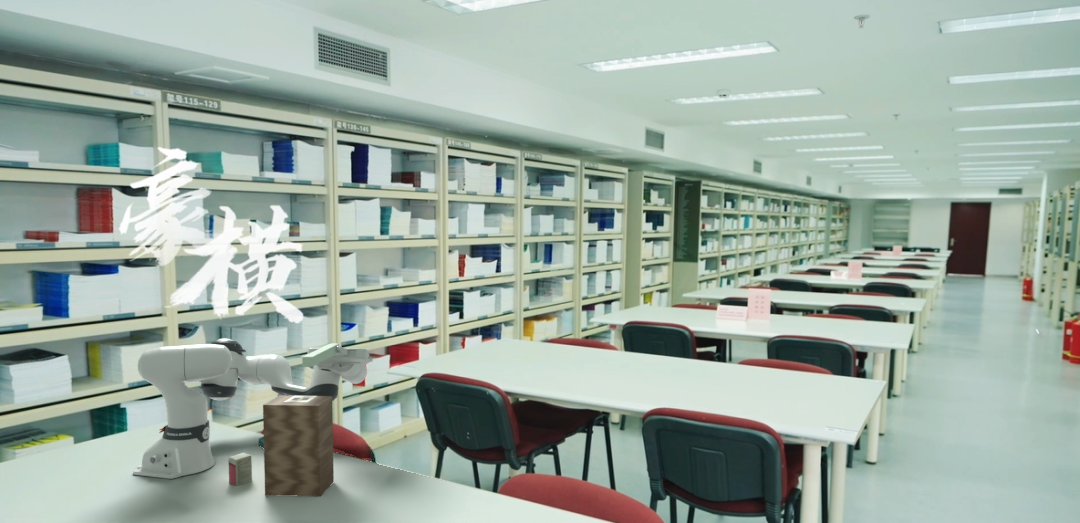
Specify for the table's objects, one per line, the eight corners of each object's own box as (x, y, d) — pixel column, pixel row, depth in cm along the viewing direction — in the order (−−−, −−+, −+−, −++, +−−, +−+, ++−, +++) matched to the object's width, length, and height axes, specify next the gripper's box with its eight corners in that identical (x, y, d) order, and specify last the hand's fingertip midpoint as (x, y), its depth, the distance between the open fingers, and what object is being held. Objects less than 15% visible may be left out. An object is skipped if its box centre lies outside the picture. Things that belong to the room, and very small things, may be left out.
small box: (244, 477, 192) (243, 451, 192) (252, 480, 190) (251, 454, 189) (228, 482, 188) (227, 456, 188) (236, 486, 186) (235, 459, 185)
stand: (265, 495, 179) (263, 404, 178) (281, 481, 189) (279, 395, 188) (320, 496, 179) (318, 405, 177) (333, 482, 188) (332, 396, 187)
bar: (302, 366, 189) (302, 356, 188) (330, 352, 210) (330, 343, 210) (312, 366, 188) (312, 356, 188) (339, 352, 210) (339, 343, 210)
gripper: (372, 370, 218) (360, 357, 205) (314, 369, 219) (299, 357, 206) (375, 353, 220) (363, 339, 208) (317, 352, 221) (303, 338, 209)
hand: (331, 348), depth 207 cm, fingers closed on bar, 3 cm apart
